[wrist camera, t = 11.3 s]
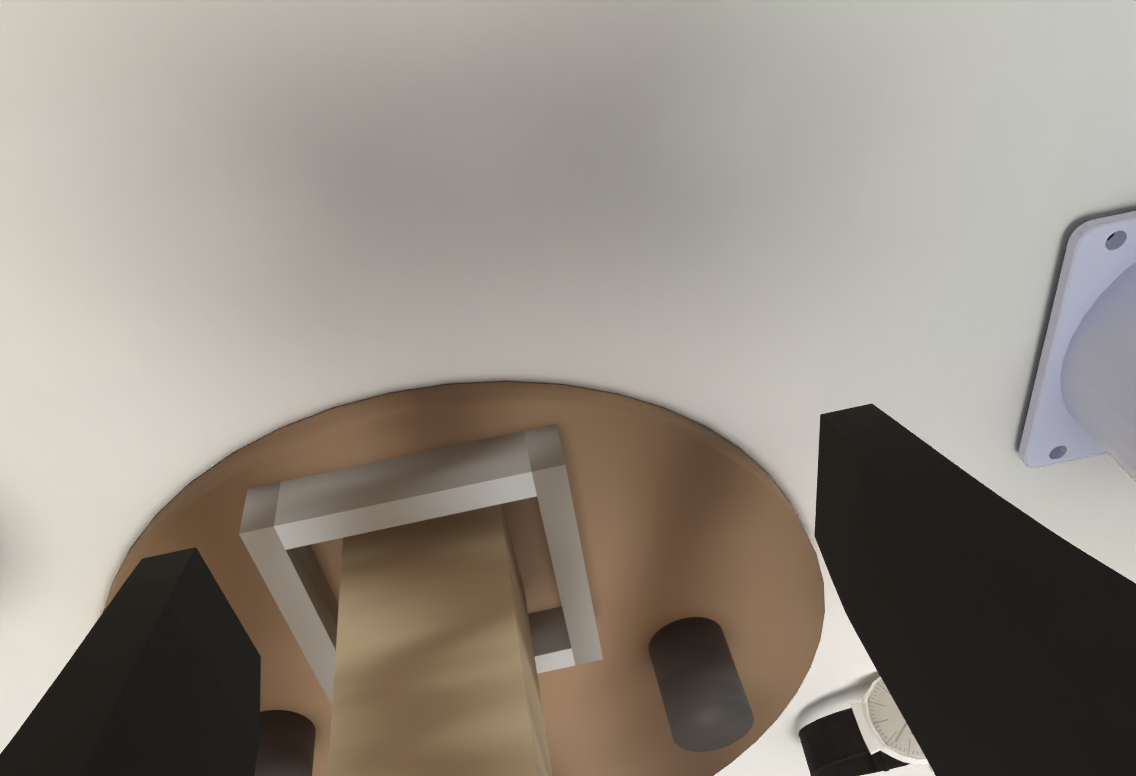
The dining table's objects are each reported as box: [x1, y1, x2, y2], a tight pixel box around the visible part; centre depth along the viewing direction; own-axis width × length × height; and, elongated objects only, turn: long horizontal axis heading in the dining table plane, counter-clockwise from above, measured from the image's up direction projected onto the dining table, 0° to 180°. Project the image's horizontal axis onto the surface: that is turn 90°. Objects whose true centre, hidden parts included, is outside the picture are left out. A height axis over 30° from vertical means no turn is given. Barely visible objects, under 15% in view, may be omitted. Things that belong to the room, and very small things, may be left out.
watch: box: [799, 676, 934, 776], centre depth 32 cm, size 8×5×4 cm, turn 102°
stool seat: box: [103, 382, 825, 776], centre depth 27 cm, size 22×22×4 cm
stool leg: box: [328, 504, 553, 776], centre depth 21 cm, size 4×4×8 cm
